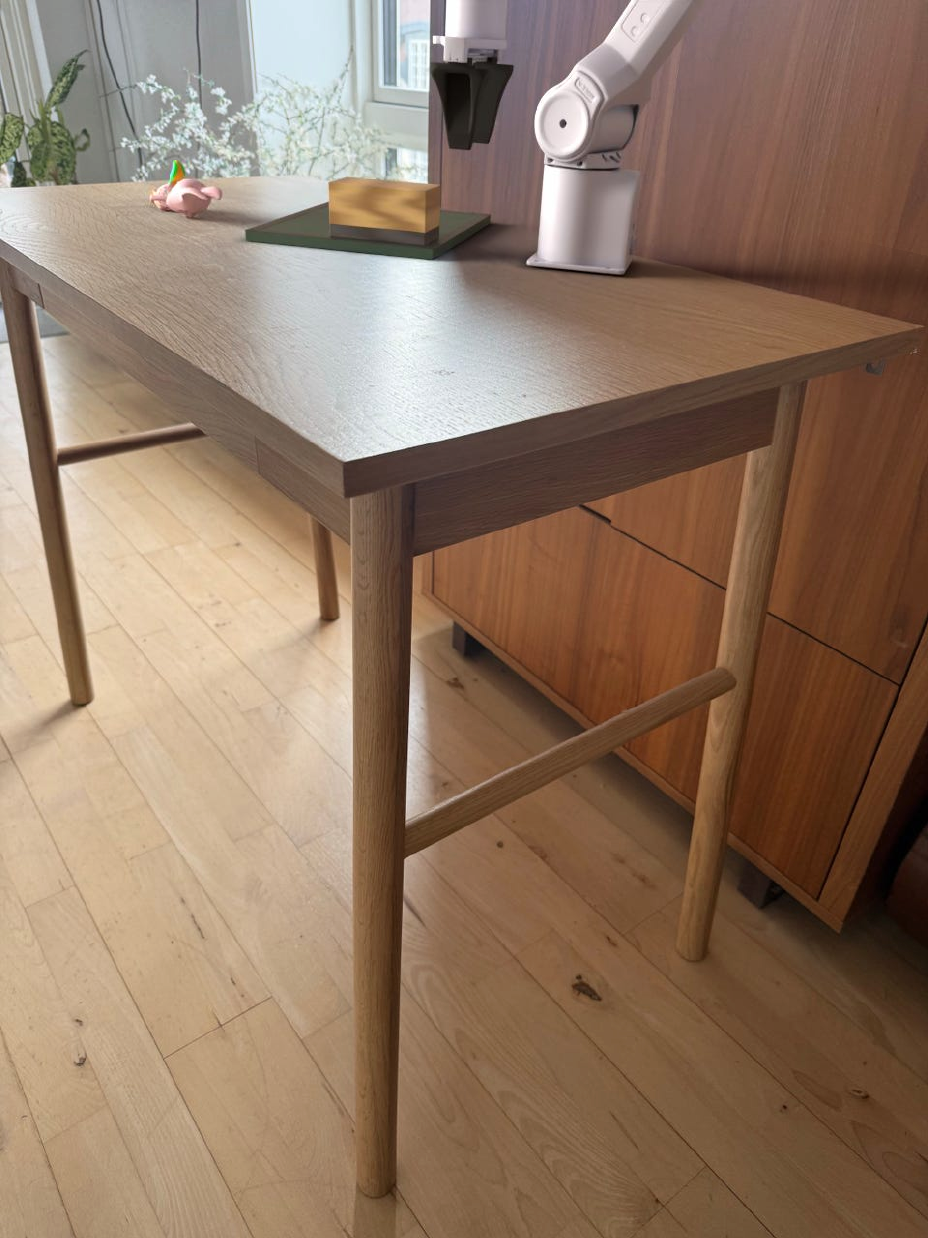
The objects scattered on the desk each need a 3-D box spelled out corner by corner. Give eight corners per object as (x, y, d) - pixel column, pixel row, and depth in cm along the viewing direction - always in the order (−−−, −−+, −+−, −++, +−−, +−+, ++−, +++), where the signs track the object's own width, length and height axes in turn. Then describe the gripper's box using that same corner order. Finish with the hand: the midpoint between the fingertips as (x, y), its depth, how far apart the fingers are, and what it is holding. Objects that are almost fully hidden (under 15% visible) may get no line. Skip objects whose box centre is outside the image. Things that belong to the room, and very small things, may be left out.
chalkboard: (490, 223, 111) (491, 214, 110) (433, 259, 91) (433, 248, 90) (333, 208, 115) (333, 199, 114) (245, 240, 95) (244, 229, 94)
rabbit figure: (139, 220, 109) (188, 217, 98) (129, 163, 107) (177, 154, 96) (190, 217, 113) (242, 214, 101) (181, 162, 110) (234, 153, 99)
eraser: (439, 237, 96) (440, 184, 93) (424, 245, 92) (426, 190, 89) (347, 228, 98) (346, 176, 95) (329, 236, 93) (328, 181, 91)
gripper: (456, -16, 93) (450, 137, 100) (412, -26, 81) (409, 148, 88) (525, -12, 92) (514, 142, 99) (491, -22, 80) (481, 154, 87)
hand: (469, 145), depth 93 cm, fingers open, 7 cm apart
